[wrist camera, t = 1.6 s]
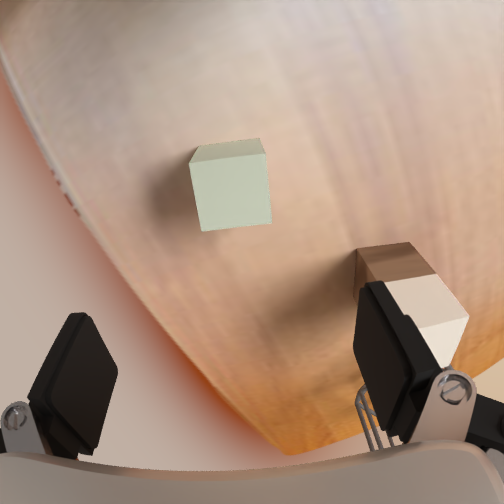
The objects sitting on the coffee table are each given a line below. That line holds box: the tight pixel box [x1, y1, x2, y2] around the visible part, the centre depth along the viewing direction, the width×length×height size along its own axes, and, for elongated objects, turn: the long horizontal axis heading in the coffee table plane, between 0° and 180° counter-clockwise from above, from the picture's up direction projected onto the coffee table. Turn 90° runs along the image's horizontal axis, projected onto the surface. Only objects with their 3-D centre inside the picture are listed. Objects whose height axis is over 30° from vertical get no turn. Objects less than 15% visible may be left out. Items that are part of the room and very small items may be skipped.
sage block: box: [189, 138, 272, 232], centre depth 24 cm, size 5×5×6 cm
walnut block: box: [353, 242, 436, 306], centre depth 30 cm, size 6×6×6 cm
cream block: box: [385, 274, 469, 368], centre depth 25 cm, size 6×6×6 cm
